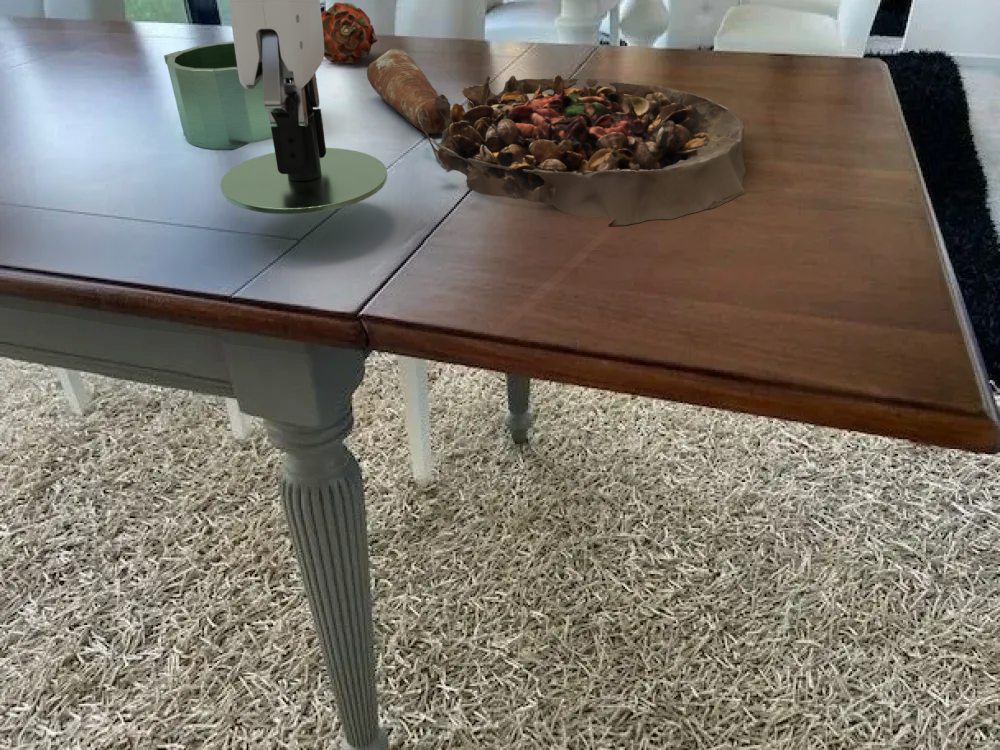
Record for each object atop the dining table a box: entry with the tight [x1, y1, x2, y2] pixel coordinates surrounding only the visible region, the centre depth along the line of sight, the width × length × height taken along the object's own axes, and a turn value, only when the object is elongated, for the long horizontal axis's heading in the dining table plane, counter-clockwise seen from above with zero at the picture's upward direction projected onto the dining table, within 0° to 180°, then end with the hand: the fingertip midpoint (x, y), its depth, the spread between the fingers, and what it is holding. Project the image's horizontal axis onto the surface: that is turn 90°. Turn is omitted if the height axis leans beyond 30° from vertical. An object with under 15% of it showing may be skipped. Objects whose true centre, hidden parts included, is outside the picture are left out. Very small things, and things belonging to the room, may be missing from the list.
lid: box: [220, 109, 388, 215], centre depth 70 cm, size 14×14×6 cm
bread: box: [366, 48, 446, 135], centre depth 101 cm, size 6×19×6 cm, turn 19°
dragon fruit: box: [321, 1, 378, 65], centre depth 122 cm, size 8×8×12 cm
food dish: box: [418, 74, 747, 227], centre depth 87 cm, size 35×33×8 cm
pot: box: [163, 40, 291, 150], centre depth 96 cm, size 13×18×8 cm
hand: (302, 162), depth 71 cm, fingers closed on lid, 2 cm apart
